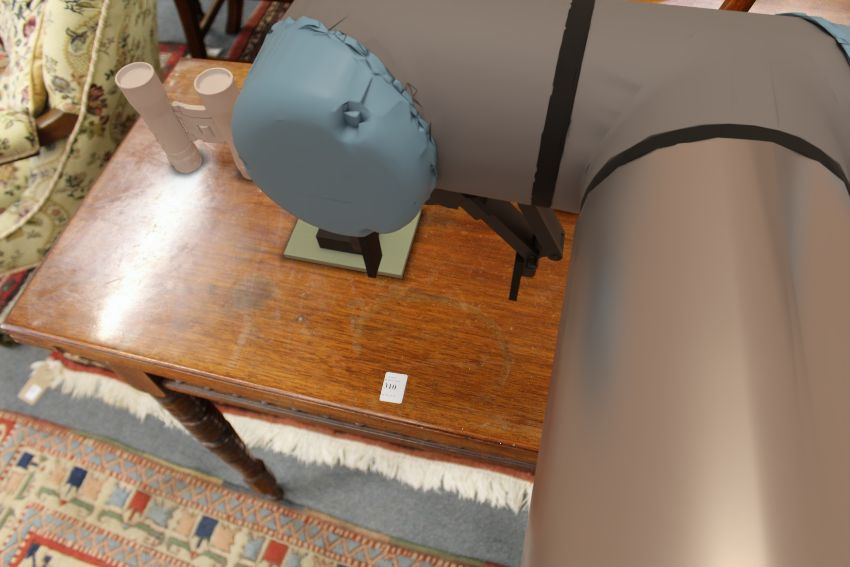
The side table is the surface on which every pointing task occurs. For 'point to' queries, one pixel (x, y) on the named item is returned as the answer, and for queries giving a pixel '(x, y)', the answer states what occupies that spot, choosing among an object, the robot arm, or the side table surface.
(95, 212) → the side table surface
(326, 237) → the dark square frame
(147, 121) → the binoculars
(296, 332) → the side table surface
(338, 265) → the base mat
